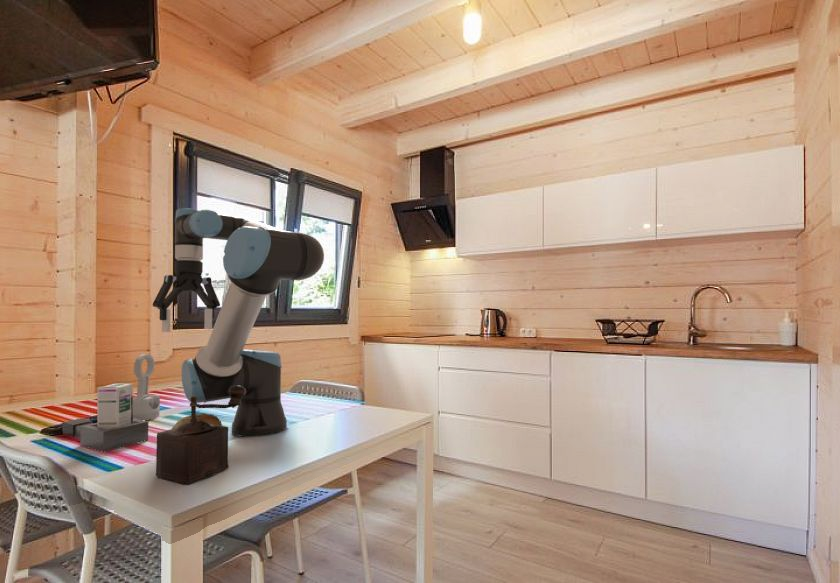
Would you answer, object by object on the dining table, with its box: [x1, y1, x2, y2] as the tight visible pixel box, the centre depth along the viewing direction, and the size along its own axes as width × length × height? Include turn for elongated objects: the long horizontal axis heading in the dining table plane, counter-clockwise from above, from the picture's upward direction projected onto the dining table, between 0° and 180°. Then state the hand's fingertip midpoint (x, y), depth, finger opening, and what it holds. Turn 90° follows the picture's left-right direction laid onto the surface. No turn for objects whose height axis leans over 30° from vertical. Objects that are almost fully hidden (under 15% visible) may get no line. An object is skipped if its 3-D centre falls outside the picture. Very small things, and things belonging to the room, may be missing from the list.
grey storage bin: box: [61, 418, 149, 453], centre depth 122 cm, size 28×11×5 cm, turn 61°
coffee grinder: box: [155, 385, 246, 486], centre depth 99 cm, size 16×11×18 cm
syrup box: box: [96, 382, 134, 429], centre depth 118 cm, size 6×6×14 cm
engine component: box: [132, 353, 161, 421], centre depth 145 cm, size 11×20×10 cm
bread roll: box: [171, 413, 223, 429], centre depth 116 cm, size 10×15×8 cm, turn 156°
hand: (188, 330), depth 135 cm, fingers open, 13 cm apart
